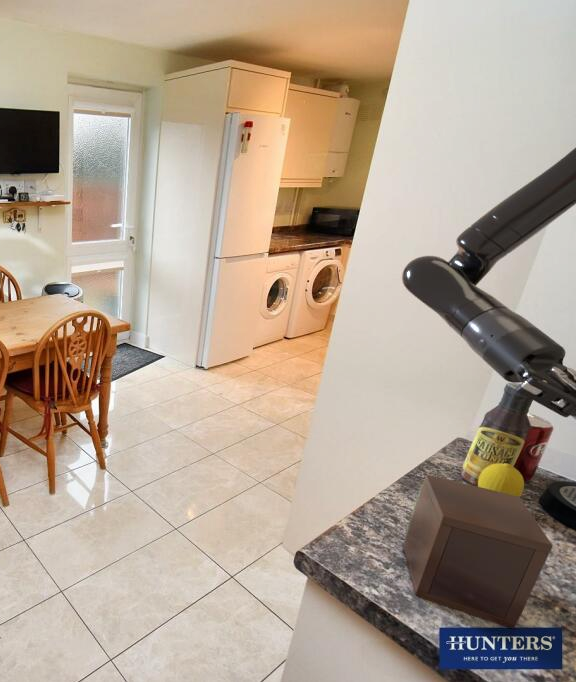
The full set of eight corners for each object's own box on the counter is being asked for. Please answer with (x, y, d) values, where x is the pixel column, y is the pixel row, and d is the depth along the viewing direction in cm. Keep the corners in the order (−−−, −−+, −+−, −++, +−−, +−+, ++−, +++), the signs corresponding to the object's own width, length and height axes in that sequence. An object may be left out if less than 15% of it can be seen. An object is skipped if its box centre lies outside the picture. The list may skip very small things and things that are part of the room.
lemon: (511, 518, 74) (528, 477, 72) (469, 501, 78) (483, 462, 76) (516, 504, 78) (533, 465, 75) (475, 489, 82) (489, 451, 79)
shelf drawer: (403, 529, 70) (420, 477, 67) (482, 552, 65) (504, 498, 62) (417, 580, 60) (437, 523, 57) (511, 611, 56) (538, 551, 53)
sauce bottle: (456, 480, 84) (491, 384, 78) (462, 468, 88) (495, 375, 82) (503, 497, 80) (544, 397, 73) (507, 483, 84) (545, 387, 77)
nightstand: (402, 546, 68) (426, 474, 64) (487, 572, 63) (519, 496, 59) (415, 595, 59) (443, 515, 55) (514, 629, 55) (553, 545, 51)
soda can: (524, 469, 88) (546, 415, 84) (537, 489, 82) (562, 432, 78) (476, 458, 92) (495, 406, 88) (486, 476, 86) (506, 421, 82)
